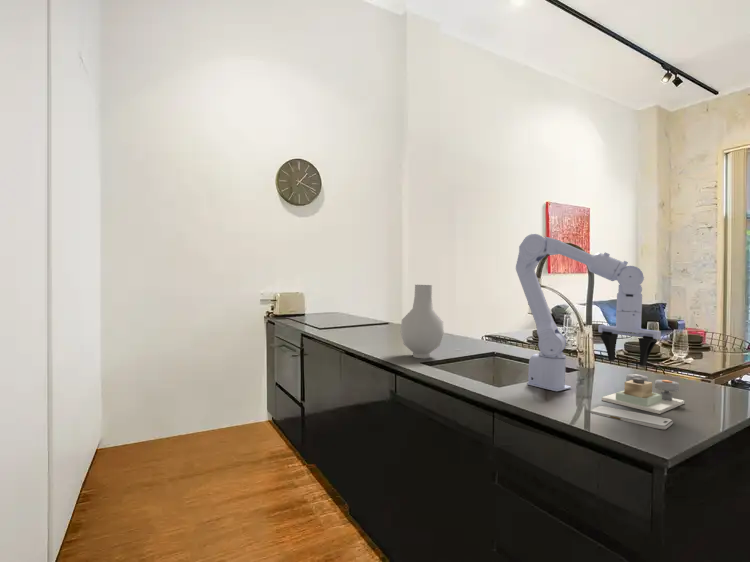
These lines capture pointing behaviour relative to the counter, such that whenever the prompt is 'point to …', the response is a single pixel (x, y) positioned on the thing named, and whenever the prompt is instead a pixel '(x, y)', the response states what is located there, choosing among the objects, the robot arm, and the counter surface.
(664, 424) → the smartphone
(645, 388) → the tan wooden block
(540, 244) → the robot arm
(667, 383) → the grey rounded cap
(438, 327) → the vase
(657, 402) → the chassis
